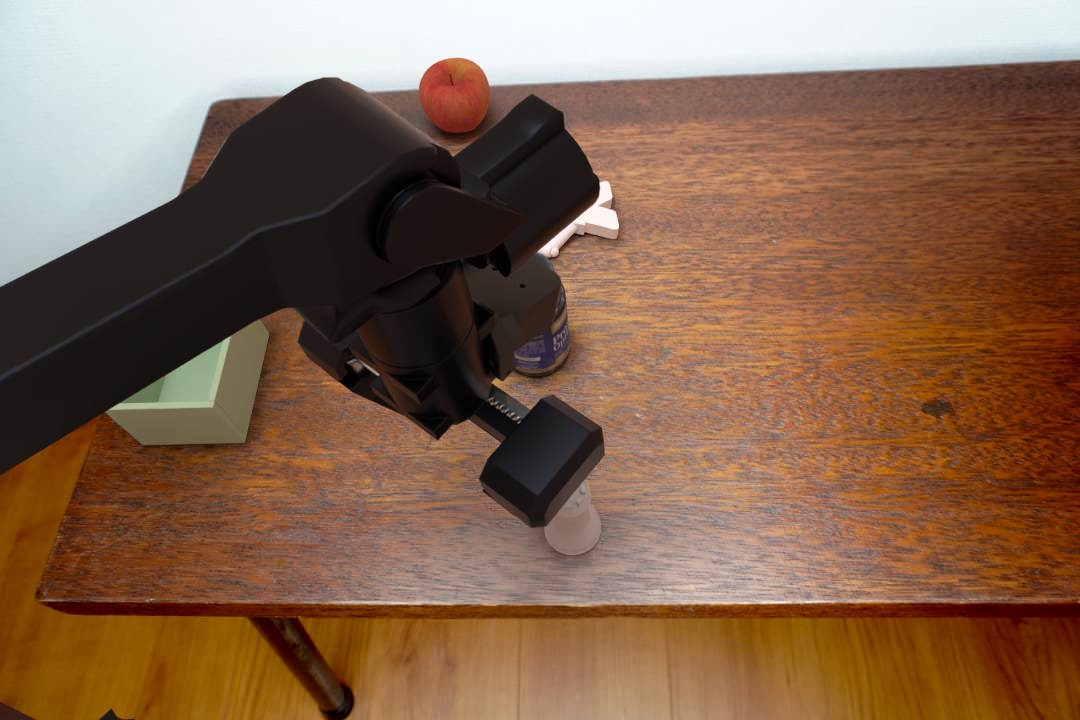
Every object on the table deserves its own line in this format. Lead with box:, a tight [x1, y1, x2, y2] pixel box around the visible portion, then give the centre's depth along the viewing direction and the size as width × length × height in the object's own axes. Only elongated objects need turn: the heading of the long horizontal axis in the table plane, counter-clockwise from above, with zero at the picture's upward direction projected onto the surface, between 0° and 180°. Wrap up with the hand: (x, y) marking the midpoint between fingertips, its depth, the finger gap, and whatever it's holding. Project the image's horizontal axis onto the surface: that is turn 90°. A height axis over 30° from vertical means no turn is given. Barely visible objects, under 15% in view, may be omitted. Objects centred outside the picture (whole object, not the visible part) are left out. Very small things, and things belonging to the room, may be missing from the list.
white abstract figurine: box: [538, 180, 620, 259], centre depth 79 cm, size 9×12×2 cm
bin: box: [104, 319, 270, 446], centre depth 71 cm, size 11×9×7 cm
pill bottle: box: [513, 252, 571, 377], centre depth 68 cm, size 6×6×11 cm
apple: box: [418, 57, 491, 134], centre depth 85 cm, size 7×7×8 cm
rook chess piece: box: [543, 480, 602, 556], centre depth 60 cm, size 4×4×8 cm
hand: (469, 451), depth 53 cm, fingers open, 9 cm apart
